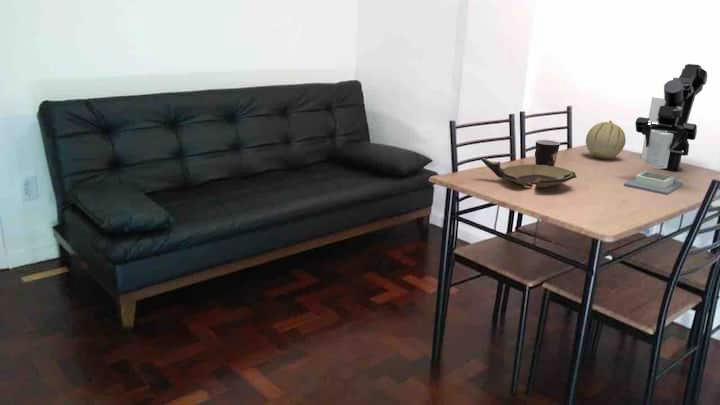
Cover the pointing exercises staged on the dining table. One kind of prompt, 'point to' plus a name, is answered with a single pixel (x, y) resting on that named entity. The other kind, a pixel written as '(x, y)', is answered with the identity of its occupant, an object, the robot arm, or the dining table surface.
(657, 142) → the skincare box
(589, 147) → the cantaloupe
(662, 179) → the collar board
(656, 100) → the white tall block
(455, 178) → the dining table surface
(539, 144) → the coffee mug
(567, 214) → the dining table surface
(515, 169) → the oil lamp
